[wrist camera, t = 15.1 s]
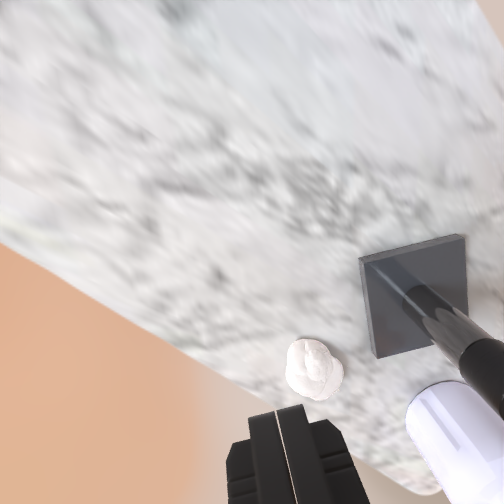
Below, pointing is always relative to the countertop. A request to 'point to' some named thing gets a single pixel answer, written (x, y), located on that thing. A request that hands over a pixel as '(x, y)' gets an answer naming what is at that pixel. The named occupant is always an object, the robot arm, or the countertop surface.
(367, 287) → the faucet base
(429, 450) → the soap bottle
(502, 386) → the spout
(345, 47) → the countertop surface
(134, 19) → the countertop surface
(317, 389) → the dumpling
